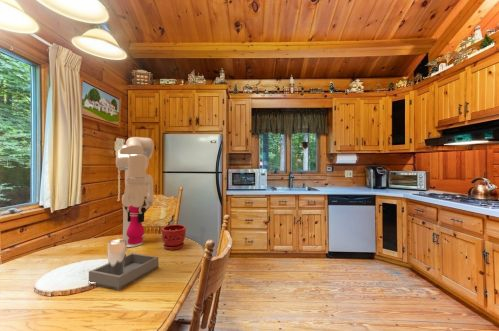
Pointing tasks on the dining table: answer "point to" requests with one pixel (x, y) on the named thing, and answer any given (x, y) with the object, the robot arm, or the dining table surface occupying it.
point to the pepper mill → (135, 227)
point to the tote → (133, 271)
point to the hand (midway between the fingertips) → (135, 221)
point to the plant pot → (173, 236)
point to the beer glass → (116, 256)
